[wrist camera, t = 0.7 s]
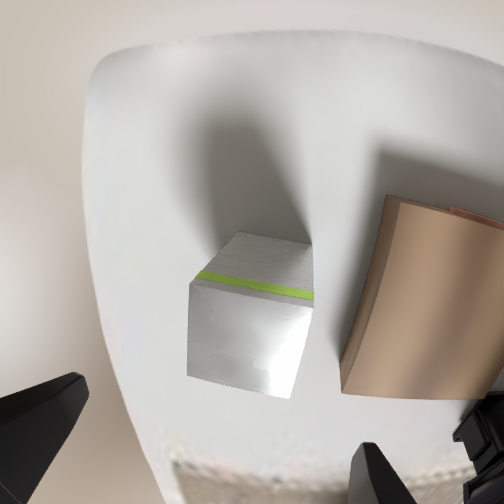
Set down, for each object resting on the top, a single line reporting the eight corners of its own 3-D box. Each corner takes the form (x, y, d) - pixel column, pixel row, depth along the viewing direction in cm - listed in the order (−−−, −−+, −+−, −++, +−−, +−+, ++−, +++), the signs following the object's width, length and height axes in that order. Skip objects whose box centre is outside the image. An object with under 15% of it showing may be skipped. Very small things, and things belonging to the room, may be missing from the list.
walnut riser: (528, 231, 15) (552, 242, 12) (471, 375, 19) (483, 398, 16) (387, 189, 16) (401, 196, 13) (339, 365, 20) (341, 393, 17)
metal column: (312, 244, 18) (313, 307, 10) (298, 311, 19) (289, 398, 12) (237, 231, 19) (189, 283, 11) (230, 298, 20) (186, 375, 12)
